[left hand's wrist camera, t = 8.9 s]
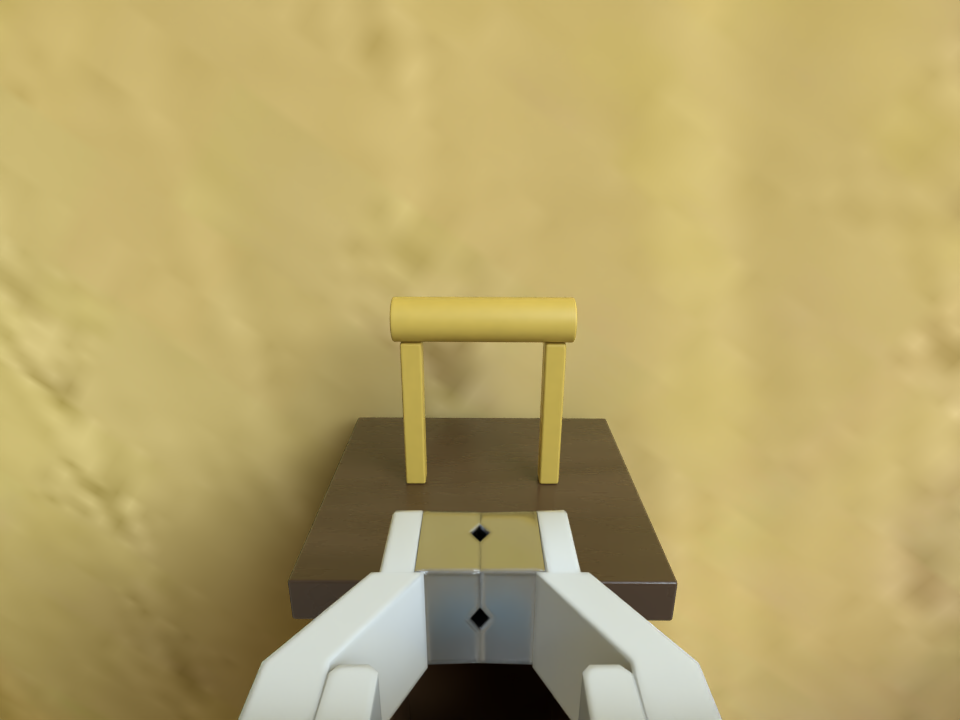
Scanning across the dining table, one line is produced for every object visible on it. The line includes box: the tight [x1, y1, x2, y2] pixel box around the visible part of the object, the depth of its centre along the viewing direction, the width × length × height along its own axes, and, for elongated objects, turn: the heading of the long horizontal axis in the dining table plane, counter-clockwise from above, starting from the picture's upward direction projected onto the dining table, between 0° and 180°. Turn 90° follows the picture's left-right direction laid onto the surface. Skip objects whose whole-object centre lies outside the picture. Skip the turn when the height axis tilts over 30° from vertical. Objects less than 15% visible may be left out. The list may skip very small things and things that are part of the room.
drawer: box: [288, 297, 677, 720], centre depth 21 cm, size 24×9×9 cm, turn 0°
